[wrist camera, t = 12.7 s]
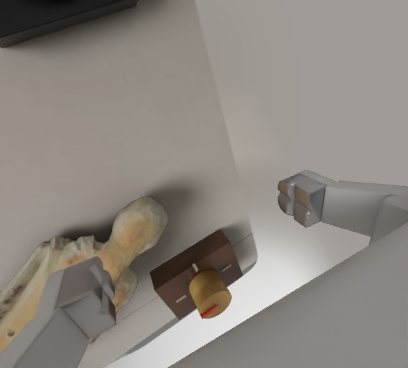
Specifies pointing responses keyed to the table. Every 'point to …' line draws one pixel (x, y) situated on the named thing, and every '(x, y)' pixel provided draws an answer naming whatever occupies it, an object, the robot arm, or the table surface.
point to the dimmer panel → (194, 271)
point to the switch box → (50, 16)
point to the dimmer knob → (209, 294)
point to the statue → (77, 252)
